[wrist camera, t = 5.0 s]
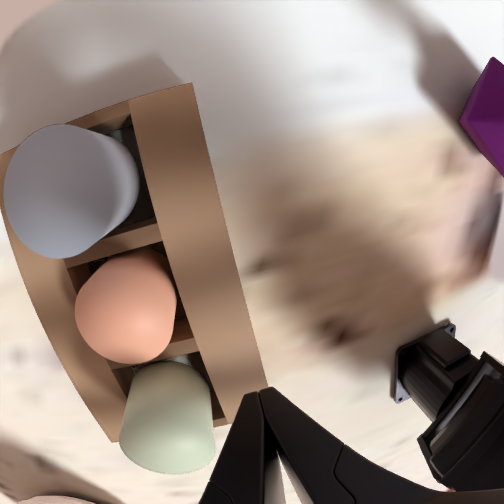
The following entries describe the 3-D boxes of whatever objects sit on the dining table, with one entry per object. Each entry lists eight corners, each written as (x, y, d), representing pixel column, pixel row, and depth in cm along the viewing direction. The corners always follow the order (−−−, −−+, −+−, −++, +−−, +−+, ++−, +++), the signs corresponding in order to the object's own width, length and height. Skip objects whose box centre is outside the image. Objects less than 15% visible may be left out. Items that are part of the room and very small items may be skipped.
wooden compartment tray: (266, 385, 22) (275, 412, 19) (118, 416, 21) (111, 442, 18) (193, 95, 16) (191, 82, 14) (15, 159, 15) (-10, 160, 12)
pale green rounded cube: (219, 411, 19) (226, 466, 14) (149, 424, 19) (144, 478, 14) (195, 352, 18) (197, 407, 13) (118, 369, 17) (101, 422, 13)
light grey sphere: (151, 217, 15) (131, 238, 11) (66, 243, 15) (24, 272, 10) (127, 121, 14) (99, 104, 9) (43, 154, 13) (-7, 153, 9)
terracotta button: (188, 311, 20) (187, 353, 15) (117, 329, 19) (99, 370, 15) (164, 235, 18) (153, 258, 14) (89, 257, 18) (59, 284, 13)
